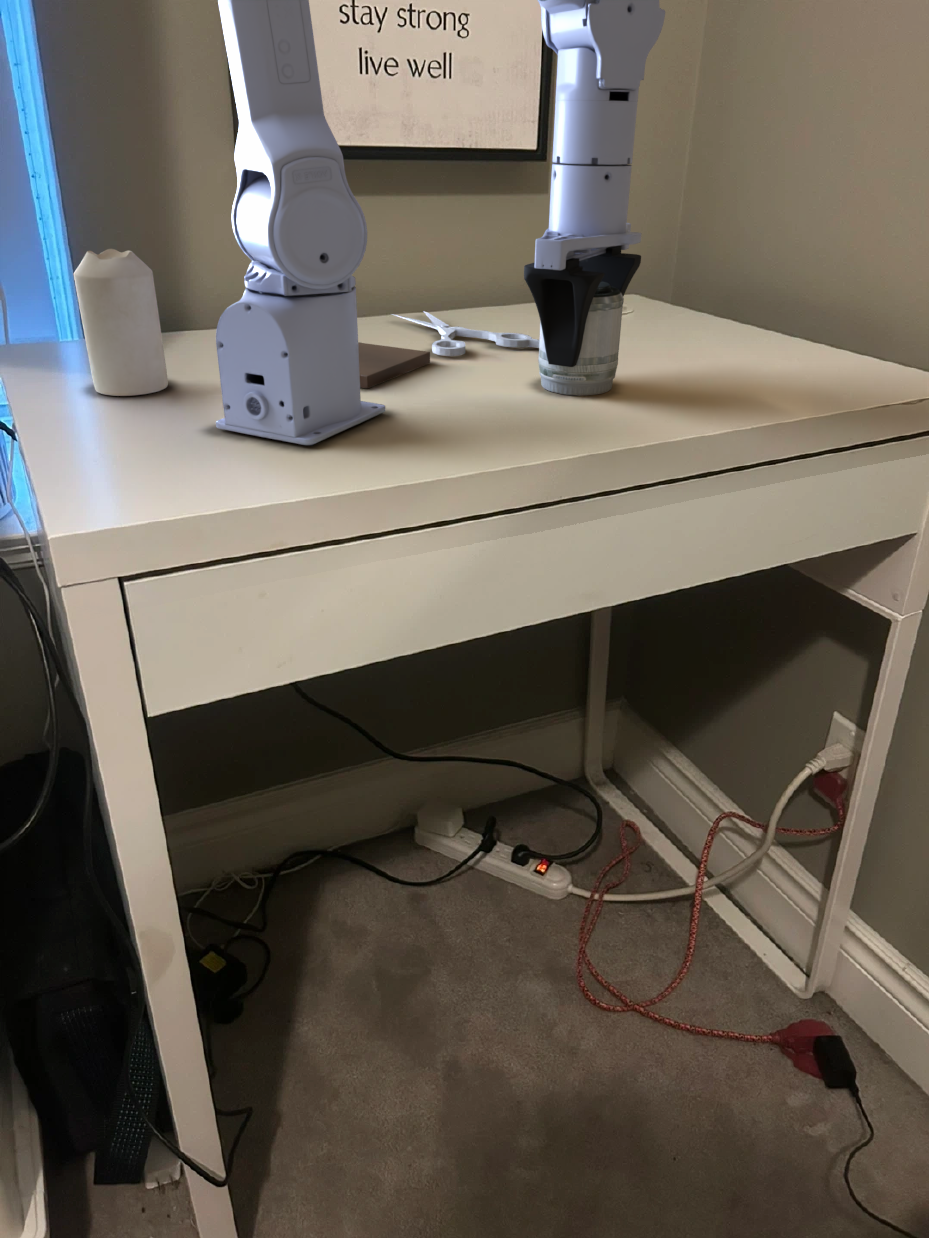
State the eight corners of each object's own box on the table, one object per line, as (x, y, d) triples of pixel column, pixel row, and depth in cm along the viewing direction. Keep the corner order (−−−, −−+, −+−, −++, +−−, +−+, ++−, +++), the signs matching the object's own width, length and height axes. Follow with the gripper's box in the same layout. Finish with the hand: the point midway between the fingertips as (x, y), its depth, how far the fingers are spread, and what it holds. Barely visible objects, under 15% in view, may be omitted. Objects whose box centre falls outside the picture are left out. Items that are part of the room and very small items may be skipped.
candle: (91, 399, 69) (65, 256, 64) (97, 381, 73) (73, 246, 69) (168, 394, 70) (148, 254, 65) (168, 377, 75) (150, 245, 70)
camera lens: (545, 374, 77) (550, 275, 73) (620, 380, 76) (629, 280, 72) (529, 393, 72) (534, 287, 68) (609, 400, 70) (619, 292, 66)
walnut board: (367, 388, 72) (367, 376, 72) (266, 373, 76) (265, 361, 76) (430, 363, 80) (430, 351, 80) (335, 350, 84) (334, 339, 84)
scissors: (450, 352, 80) (359, 312, 95) (450, 361, 80) (359, 320, 95) (552, 341, 84) (449, 305, 100) (551, 350, 85) (449, 312, 100)
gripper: (610, 170, 59) (593, 382, 65) (675, 163, 70) (655, 344, 77) (510, 166, 62) (503, 370, 68) (588, 160, 73) (576, 335, 79)
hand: (578, 356), depth 72 cm, fingers closed on camera lens, 6 cm apart
